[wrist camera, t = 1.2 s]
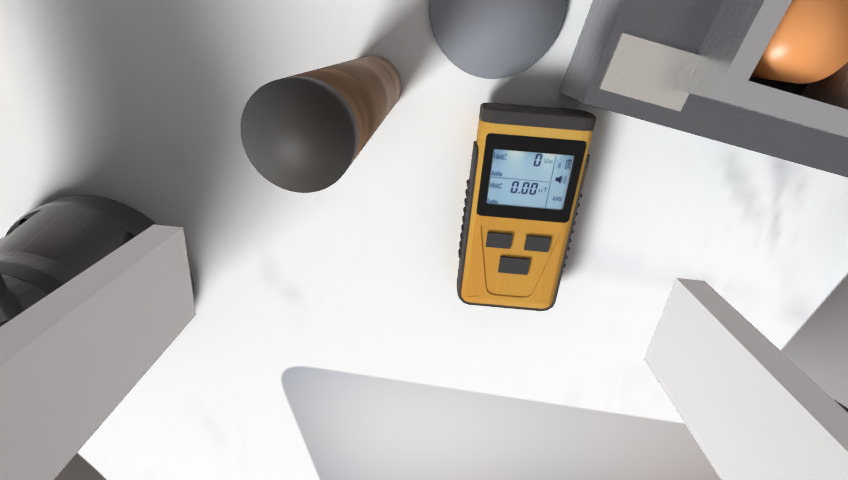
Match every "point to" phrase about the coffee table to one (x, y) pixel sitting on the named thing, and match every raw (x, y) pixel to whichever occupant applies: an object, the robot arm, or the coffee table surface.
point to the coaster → (496, 33)
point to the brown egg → (807, 43)
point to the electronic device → (521, 204)
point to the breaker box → (708, 77)
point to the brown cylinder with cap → (317, 121)
